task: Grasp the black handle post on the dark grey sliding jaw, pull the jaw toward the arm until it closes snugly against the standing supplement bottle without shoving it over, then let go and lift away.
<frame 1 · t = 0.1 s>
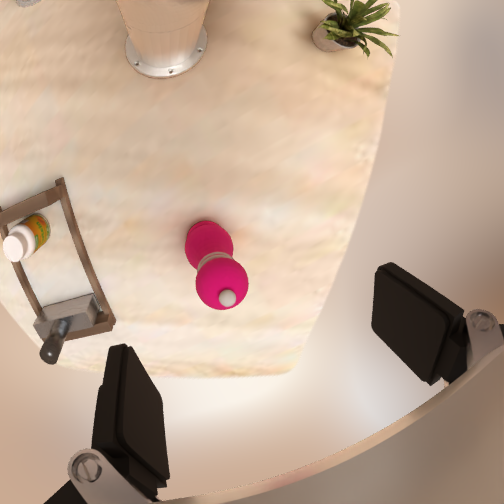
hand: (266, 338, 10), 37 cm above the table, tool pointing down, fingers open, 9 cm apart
vise frame: (52, 265, 40), on the table
sliding jaw: (59, 329, 37), point 7 cm above the table, slide at 0.0 cm
pepper mill: (205, 238, 47), on the table
house plant: (322, 33, 38), on the table
supplement bottle: (38, 228, 38), resting in vise frame
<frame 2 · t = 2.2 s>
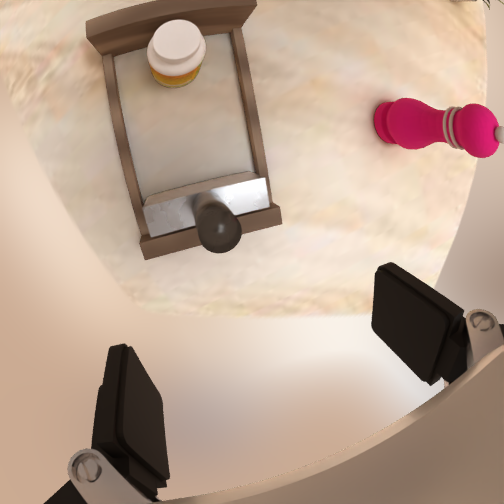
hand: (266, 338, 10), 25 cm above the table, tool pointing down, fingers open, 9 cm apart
vise frame: (186, 123, 29), on the table
sliding jaw: (208, 209, 26), point 7 cm above the table, slide at 0.0 cm
pepper mill: (388, 122, 35), on the table
supplement bottle: (175, 67, 26), resting in vise frame
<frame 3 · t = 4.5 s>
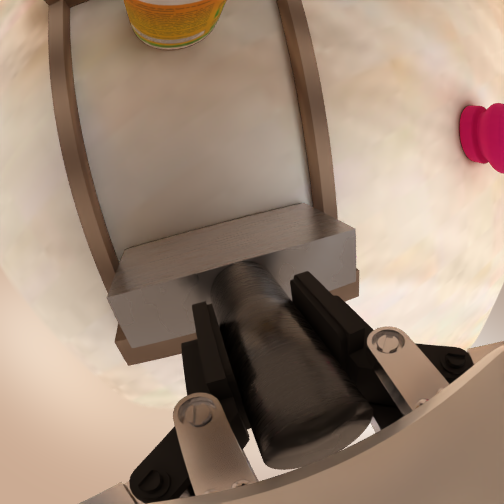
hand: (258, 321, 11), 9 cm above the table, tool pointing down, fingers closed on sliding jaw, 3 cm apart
vise frame: (192, 113, 15), on the table
sliding jaw: (248, 302, 12), point 7 cm above the table, slide at 0.0 cm, touching gripper
pepper mill: (471, 133, 21), on the table
supplement bottle: (174, 17, 12), resting in vise frame
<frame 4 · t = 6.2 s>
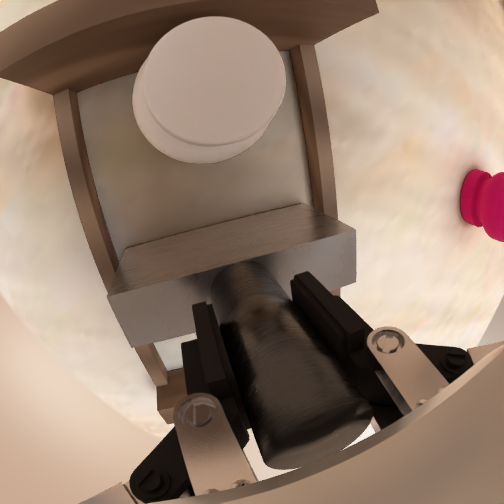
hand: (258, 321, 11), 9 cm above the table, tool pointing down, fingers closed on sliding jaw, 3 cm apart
vise frame: (215, 223, 18), on the table
sliding jaw: (248, 302, 12), point 7 cm above the table, slide at 7.0 cm, touching gripper
pepper mill: (471, 195, 24), on the table
supplement bottle: (192, 114, 15), resting in vise frame
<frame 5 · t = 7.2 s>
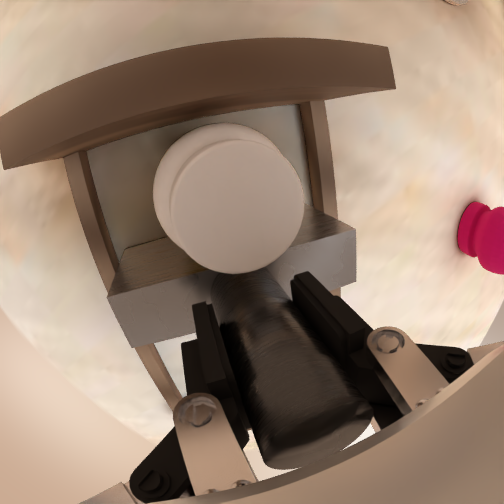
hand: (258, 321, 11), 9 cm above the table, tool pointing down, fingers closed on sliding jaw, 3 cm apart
vise frame: (227, 276, 19), on the table
sliding jaw: (248, 302, 12), point 7 cm above the table, slide at 10.9 cm, touching gripper
pepper mill: (469, 226, 26), on the table
supplement bottle: (204, 174, 17), resting in vise frame
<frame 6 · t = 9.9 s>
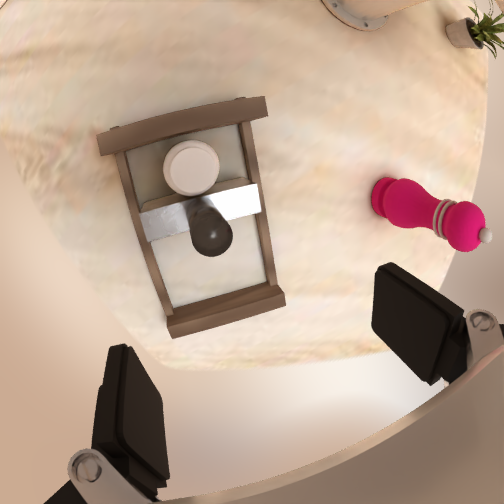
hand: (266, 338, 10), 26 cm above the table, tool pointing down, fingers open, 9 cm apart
vise frame: (200, 219, 34), on the table
sliding jaw: (202, 214, 27), point 7 cm above the table, slide at 11.0 cm
pepper mill: (384, 196, 41), on the table
house plant: (450, 30, 32), on the table
supplement bottle: (187, 163, 32), resting in vise frame
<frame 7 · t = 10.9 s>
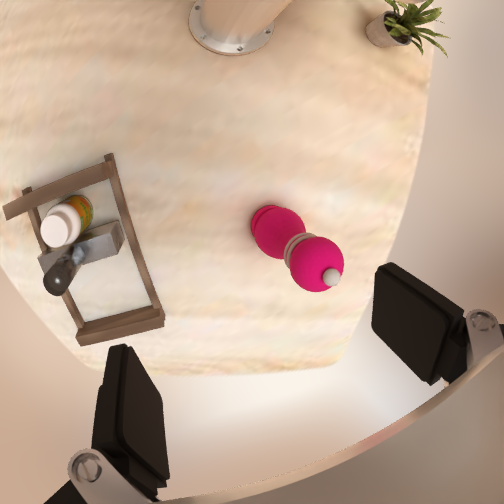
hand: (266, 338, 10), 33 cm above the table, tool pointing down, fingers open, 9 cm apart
vise frame: (92, 255, 38), on the table
sliding jaw: (72, 258, 31), point 7 cm above the table, slide at 11.0 cm
pepper mill: (269, 224, 45), on the table
house plant: (374, 29, 36), on the table
supplement bottle: (77, 212, 36), resting in vise frame
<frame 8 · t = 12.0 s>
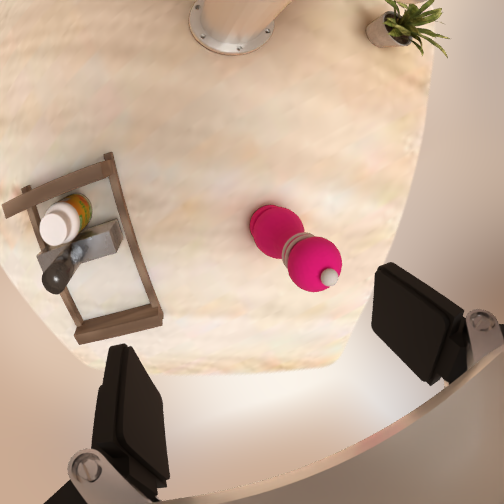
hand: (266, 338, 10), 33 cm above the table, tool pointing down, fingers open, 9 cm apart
vise frame: (91, 253, 38), on the table
sliding jaw: (71, 257, 31), point 7 cm above the table, slide at 11.0 cm
pepper mill: (268, 223, 45), on the table
house plant: (374, 29, 36), on the table
supplement bottle: (77, 210, 36), resting in vise frame
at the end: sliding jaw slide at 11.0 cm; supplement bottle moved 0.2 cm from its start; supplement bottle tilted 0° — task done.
